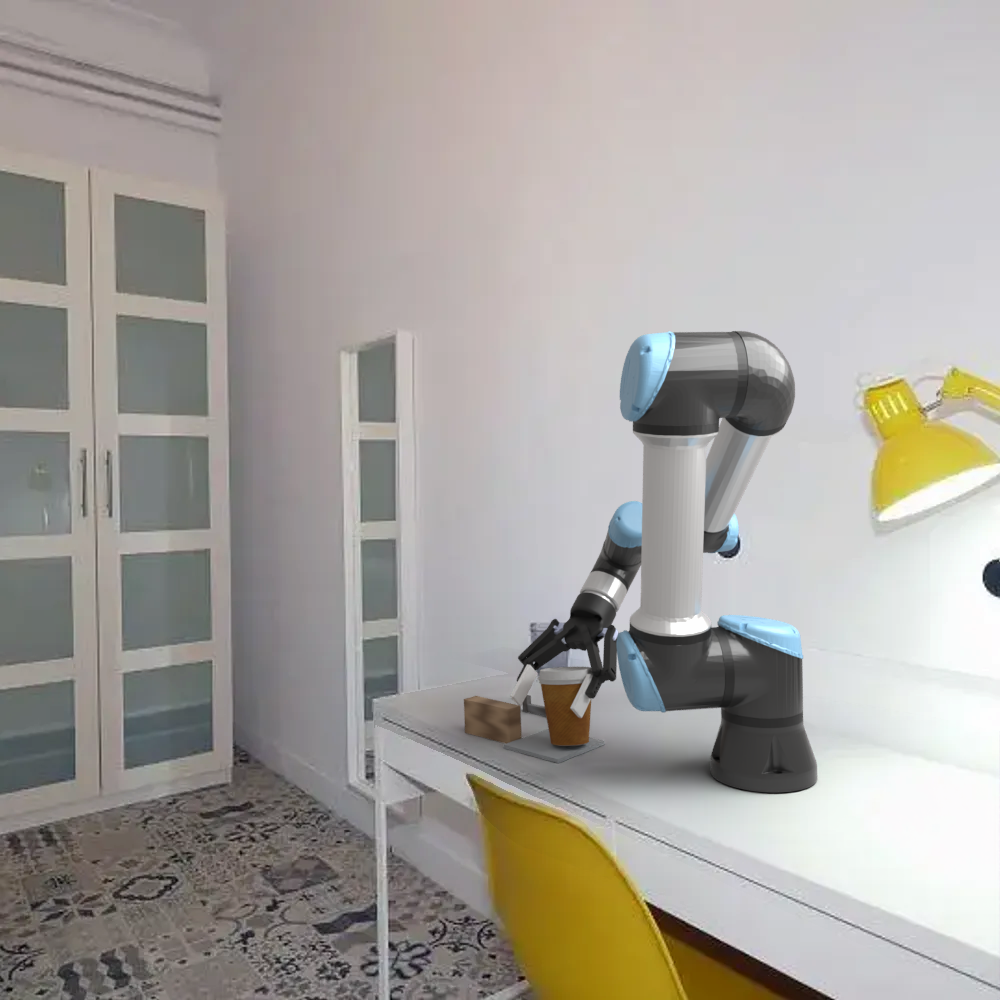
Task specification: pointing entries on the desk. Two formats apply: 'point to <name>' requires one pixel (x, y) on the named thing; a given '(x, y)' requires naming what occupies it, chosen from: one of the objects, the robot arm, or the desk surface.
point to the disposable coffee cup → (564, 705)
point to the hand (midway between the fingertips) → (544, 707)
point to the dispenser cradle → (497, 718)
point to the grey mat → (550, 747)
